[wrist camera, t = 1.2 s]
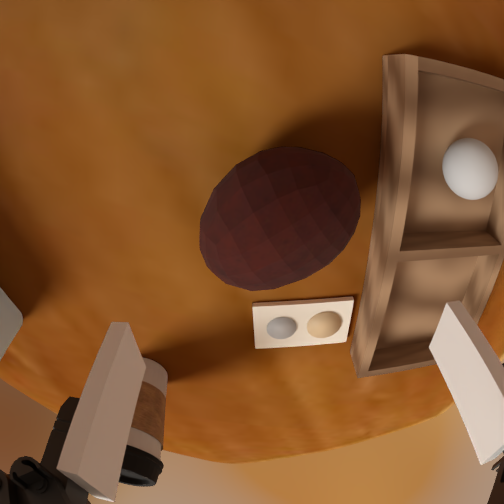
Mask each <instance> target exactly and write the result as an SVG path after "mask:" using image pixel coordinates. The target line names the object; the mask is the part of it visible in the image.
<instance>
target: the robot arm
mask: <svg viewBox="0 0 504 504" xmlns="http://www.w3.org/2000/svg"><path fill="white" fill-rule="evenodd" d="M429 349H430V351H431V353H432V355H433V357H434V359H435V361H436V363H437V365H438V367H439V369H440V371H441V373H442V375H443V377H444V379H445V381H446V383H447V386H448V388H449V390H450V392H451V394H452V396H453V399H454V401H455V403H456V405H457V408H458V410H459V412H460V415H461V416H462V419H463V422H464V424H465V426H466V429H467V431H468V434H469V436H470V439H471V441H472V443H473V446H474V449H475V451H476V454H477V457H478V459H479V462H480V465H482V464H484V463H486V462H489V461H491V460H493V459H495V458H496V457H497V456H498V455H499V454H500V453H501V452H503V453H504V363H503V364H502V363H501V362H500V360H499V358H498V357H497V355H496V354H495V352H494V350H493V349H492V347H491V346H490V344H489V343H488V341H487V339H486V338H485V336H484V335H483V333H482V332H481V330H480V329H479V327H478V326H477V324H476V323H475V321H474V320H473V319H472V317H471V316H470V314H469V313H468V311H467V310H466V308H465V307H464V306H463V304H462V303H461V301H454V302H447V303H446V305H445V308H444V311H443V313H442V316H441V319H440V321H439V324H438V326H437V329H436V331H435V334H434V336H433V339H432V341H431V343H430V346H429ZM145 369H146V365H145V363H144V361H143V358H142V356H141V353H140V351H139V348H138V346H137V343H136V341H135V338H134V336H133V333H132V331H131V328H130V325H129V323H128V322H111V324H110V327H109V329H108V331H107V333H106V336H105V338H104V340H103V343H102V345H101V347H100V350H99V352H98V354H97V357H96V359H95V362H94V364H93V367H92V369H91V372H90V374H89V377H88V379H87V382H86V384H85V387H84V389H83V392H82V395H81V397H80V398H75V397H69V398H68V399H67V400H66V401H65V403H64V404H63V405H62V406H61V408H60V410H59V413H58V416H57V421H55V423H54V426H53V430H52V432H51V435H50V437H49V440H48V443H47V446H46V449H45V452H44V455H43V458H42V461H41V463H38V462H37V461H36V460H34V459H33V458H31V457H27V456H24V457H20V458H18V459H17V460H16V461H14V463H13V465H12V466H11V469H10V474H6V473H5V472H3V471H2V470H0V504H91V503H90V502H89V501H88V499H87V498H88V493H90V494H91V495H93V496H94V497H96V498H99V499H103V500H107V501H112V502H115V498H116V493H117V487H118V482H119V477H120V473H121V468H122V463H123V458H124V454H125V449H126V445H127V441H128V436H129V432H130V428H131V424H132V419H133V415H134V411H135V407H136V403H137V399H138V395H139V392H140V388H141V384H142V380H143V376H144V373H145ZM499 465H500V466H499ZM498 466H499V468H498V469H497V470H496V471H497V472H498V473H497V476H496V480H495V483H494V486H493V489H492V492H491V495H490V498H489V501H488V503H487V504H504V456H503V457H502V458H501V459H500V460H499V461H498V462H496V463H495V464H494V465H493V467H492V470H494V469H495V468H496V467H498Z"/></svg>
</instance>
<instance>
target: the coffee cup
mask: <svg viewBox="0 0 504 504" xmlns="http://www.w3.org/2000/svg"><path fill="white" fill-rule="evenodd" d="M142 358H143V357H142ZM143 361H144V363H145V365H146V369H145V373H144V376H143V380H142V384H141V388H140V392H139V395H138V399H137V403H136V407H135V411H134V415H133V419H132V424H131V428H130V432H129V436H128V441H127V445H126V449H125V454H124V458H123V463H122V468H121V473H120V477H119V482H120V483H124V484H128V485H133V486H153V485H155V484H156V482H157V479H158V476H159V474H161V472H162V469H163V463H162V462H161V461H160V457H161V451H162V449H163V437H164V419H165V404H166V390H167V380H168V375H167V372H166V370H165V369H164V368H163V367H162V366H161V365H160V364H158V363H157V362H155V361H153V360H150V359H147V358H143Z"/></svg>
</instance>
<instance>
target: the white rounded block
mask: <svg viewBox="0 0 504 504" xmlns="http://www.w3.org/2000/svg"><path fill="white" fill-rule="evenodd" d="M22 323H23V317H22V314H21V312H20V310H19V309H18V308H17V307H16V306H15V305H14V303H13V302H12V301H11V300H10V299H9V297H8V296H7V295H6V294H5V292H4V291H3V290H2V289H1V287H0V360H1V358H2V357H3V355H4V353H5V352H6V350H7V348H8V347H9V345H10V343H11V342H12V340H13V339H14V337H15V335H16V334H17V332H18V331H19V329H20V327H21V326H22Z"/></svg>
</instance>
